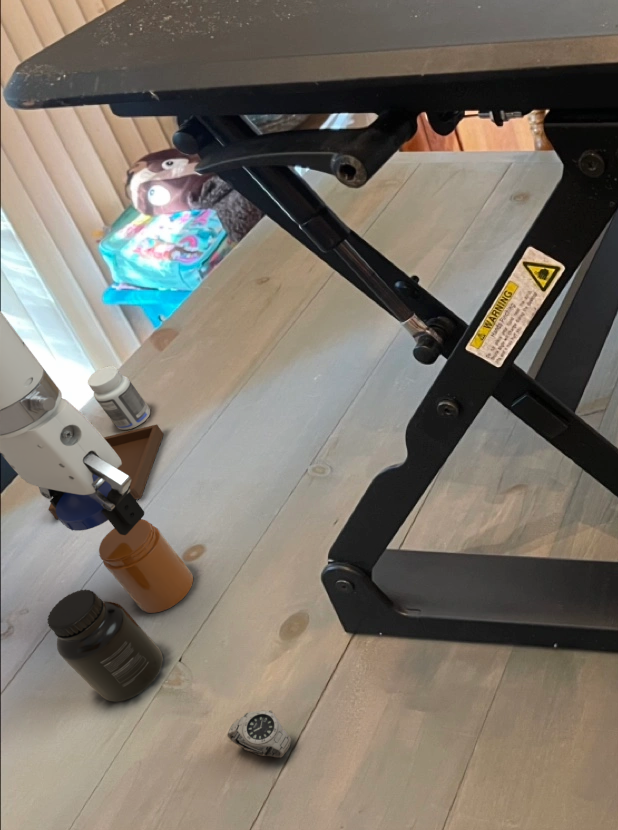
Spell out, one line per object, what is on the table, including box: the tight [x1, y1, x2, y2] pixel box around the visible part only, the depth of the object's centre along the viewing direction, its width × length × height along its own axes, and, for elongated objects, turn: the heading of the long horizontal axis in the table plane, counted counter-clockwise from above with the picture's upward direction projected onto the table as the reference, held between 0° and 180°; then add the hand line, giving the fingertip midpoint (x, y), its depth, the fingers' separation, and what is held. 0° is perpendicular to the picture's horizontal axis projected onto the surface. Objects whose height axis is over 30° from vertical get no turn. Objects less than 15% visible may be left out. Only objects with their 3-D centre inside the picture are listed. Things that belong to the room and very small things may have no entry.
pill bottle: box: [87, 365, 151, 431], centre depth 147 cm, size 5×5×8 cm
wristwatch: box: [226, 710, 292, 759], centre depth 103 cm, size 4×6×5 cm, turn 74°
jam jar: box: [98, 518, 194, 614], centre depth 120 cm, size 6×6×9 cm
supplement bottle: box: [47, 588, 164, 702], centre depth 110 cm, size 7×7×12 cm
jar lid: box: [56, 474, 112, 532], centre depth 113 cm, size 7×7×2 cm
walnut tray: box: [47, 424, 164, 520], centre depth 140 cm, size 11×12×2 cm
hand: (106, 518), depth 115 cm, fingers closed on jar lid, 6 cm apart
